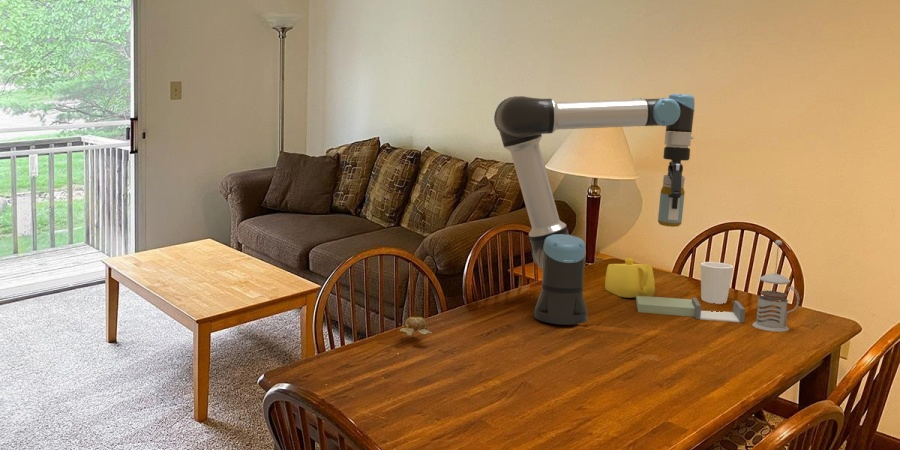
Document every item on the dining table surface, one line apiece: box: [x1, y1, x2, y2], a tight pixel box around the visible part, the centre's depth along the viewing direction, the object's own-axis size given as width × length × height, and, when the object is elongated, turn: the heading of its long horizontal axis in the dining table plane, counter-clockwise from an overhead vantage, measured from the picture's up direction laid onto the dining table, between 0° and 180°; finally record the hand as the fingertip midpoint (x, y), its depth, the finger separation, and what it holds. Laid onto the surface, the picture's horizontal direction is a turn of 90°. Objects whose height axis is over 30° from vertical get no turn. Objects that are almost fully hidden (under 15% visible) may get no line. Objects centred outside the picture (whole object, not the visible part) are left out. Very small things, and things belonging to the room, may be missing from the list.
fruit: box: [399, 316, 433, 336], centre depth 204 cm, size 8×8×4 cm
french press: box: [751, 239, 800, 333], centre depth 222 cm, size 10×12×25 cm
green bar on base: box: [635, 296, 746, 324], centre depth 237 cm, size 30×15×4 cm, turn 80°
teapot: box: [604, 258, 656, 299], centre depth 255 cm, size 20×12×12 cm, turn 22°
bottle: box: [657, 174, 686, 228], centre depth 241 cm, size 7×7×15 cm
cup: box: [700, 261, 734, 305], centre depth 249 cm, size 10×10×13 cm
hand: (670, 217), depth 238 cm, fingers open, 13 cm apart
